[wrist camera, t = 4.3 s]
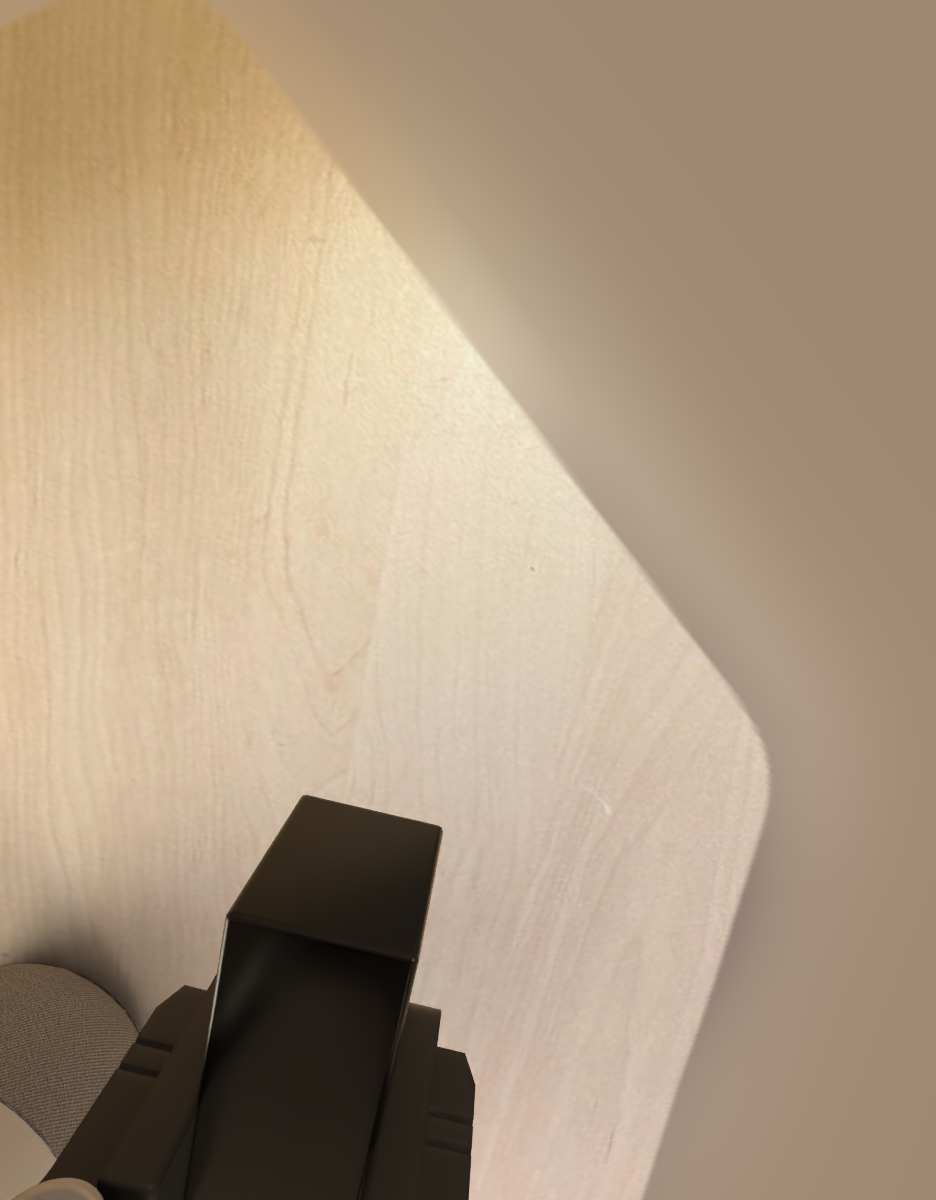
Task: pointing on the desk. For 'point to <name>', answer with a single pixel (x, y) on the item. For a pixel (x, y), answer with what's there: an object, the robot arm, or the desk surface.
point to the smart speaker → (51, 1064)
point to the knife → (311, 1005)
